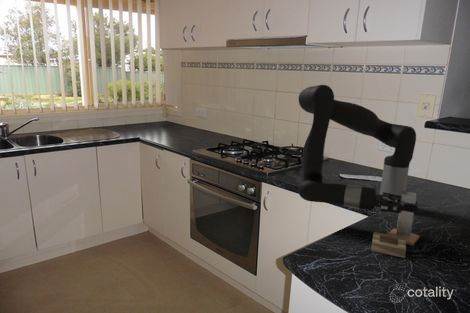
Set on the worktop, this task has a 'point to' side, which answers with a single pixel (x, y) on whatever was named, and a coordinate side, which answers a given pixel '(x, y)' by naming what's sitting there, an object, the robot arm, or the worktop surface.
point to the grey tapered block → (406, 216)
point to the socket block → (389, 244)
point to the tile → (408, 241)
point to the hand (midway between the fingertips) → (416, 206)
